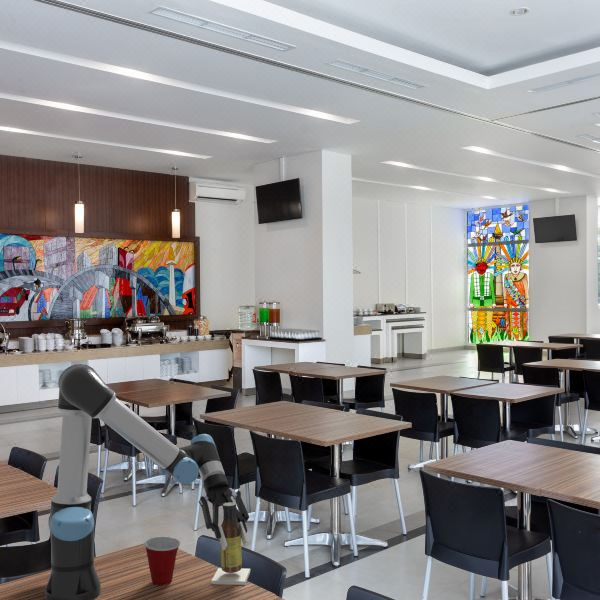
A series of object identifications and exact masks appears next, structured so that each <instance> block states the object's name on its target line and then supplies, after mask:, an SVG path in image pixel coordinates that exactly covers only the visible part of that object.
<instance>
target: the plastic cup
mask: <svg viewBox="0 0 600 600" xmlns="http://www.w3.org/2000/svg"><path fill="white" fill-rule="evenodd" d="M143 545H144V547H145V551H146V556H147V561H148V569H149V573H150V579H151V581H152V584H154V585H155V586H164V585H169V584H171V582H173V581H172V580H173V579H174V577H173V576H174V572H175V571H174V570H175V567H176V559H177V553H178V550H179V547H180V545H181V540H179V539H177V538H176V537H172V536H163V535H162V536H161V535H160V536H154V537H149V538H148V539H145V541H144V542H143Z"/></svg>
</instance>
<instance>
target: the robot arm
mask: <svg viewBox="0 0 600 600" xmlns="http://www.w3.org/2000/svg"><path fill="white" fill-rule="evenodd" d="M57 387H58V401H57V403H58V404H57V405H58V406H57V409H58V410H59V411H60V413H61V414H62V419H61V420H62V421H61V422H62V423H61V435H60V447H59V448H60V449H59V459H58V460H59V462H58V463H59V464H58V476H57V478H58V479H57V492H56V494H55V495H53V496H52V497H51V500H50V501H51V502H50V511H49V513H50V514H49V516H48V529H49V535H50V555H51V556H50V559H51V560H50V563H51V565H50V567H51V569H50V570H51V571H50V573H49V577H48V580H47V583H46V585H45V586H46V587H45V589H44V600H94V599H96V598H97V597H98V596H99V595H100V594H101V581H100V578H99V576H98V573H97V570H96V567H95V566H96V565H95V549H94V548H95V546H94V545H95V543H94V542H95V535H94V534H95V533H94V527H95V519H94V514H93V513H92V511H91V508H92V507H91V506H92V496H90V494H88V491H87V490H88V489H87V488H88V479H89V478H88V477H89V462H90V461H89V460H90V451H91V450H90V448H91V436H92V435H91V433H92V420H93V419H99V420H101V421H102V422H103V423H104V424H105V425H107V426H108V427H109V428H110V429H112V430H114V431H115V432H116V433H117V434H118V435H120V436H121V437H122V438H123V439H124V440H126V441H127V442H129V443H130V444H131V445H132V446H134V447H135V448H136V449H137V450H139V451H140V452H141V453H143V454H144V455H145V456H146V457H148V458H149V459H150V460H151V461H152V462H154V463H155V464H156V465H157V470H158V473H159V475H160V476H172V478H174V480H175V481H176V482H178V483H180V484H182V485H190V484H191V483H193V482H195V481H196V480H197V479H198V476H199V475H200V479H201V482H202V485H203V489H204V491H205V496H204V495H202V496H200V498H199V500H198V504H199V505H200V507H201V510H202V511H201V512H202V514H203V515H202V516H203V519H204V524H205V528H206V529H207V530H211V531H212V532H214V536H215V539H216V540H219V544H220V543H221V546H222V550H225V549H226V547H227V542H226V539H225V536H224V532H223V529H222V526H221V524H220V525H219V511H220V510H219V509H220V508H219V507H221V506H222V507H223V504H224V503H229V502H233V503H235V504H236V518H237V521H238V524H239V527H240V530H241V543H242V546H243V547H246V546H247V545H248V543H249V538H248V535H247V533H248V527H247V525H246V523H247V522H248V521H249V519H250V515H249V513H248V510H247V508H246V505H245V503H244V500H243V498H242V492H241V491H240V490H237V491H232V489H231V488H230V486H229V483H228V478H227V477H226V473H225V470H224V468H223V465H222V462H221V459H220V456H219V453H218V452H219V451H218V449H217V445H216V443H215V441H214V438H213V437H212V436H211V435H210V434H207V433H201V434H198V435H197V436H194V437H193V438H192V439H191V440H190V444H189V445H185V446H182V447H181V446H180V447H178V446H177V445H175V444H174V443H173V442H172V441H170V440H169V439H168V438H167V437H165V436H164V435H162V434H161V433H160V432H159V431H158V430H156V428H154V427H153V426H151V425H150V424H149V423H148V422H147V421H145V420H144V419H143V418H142V417H140V415H138V414H137V413H136V412H134V411H133V410H132V409H131V408H130V407H128V406H127V405H126V404H124V403H123V402H122V401H121V400H119V398H117V396H116V392H115V391H114V390H113V389H112V388H111V387H110V386H108V385H107V384H106V382H105V381H104V380H103V379H102V377H100V375H99V373H97V371H96V370H95V369H94V368H93V367H91V366H90V365H87V364H82V363H77V364H73V365H70V366H68V367H67V368H65V369H64V370H63V371H62V372H61V374H60V376H59V378H58V386H57ZM232 498H233V500H234V501H235V502H234V501H233V500H232ZM208 502H209V503H210V504H211V505H212V516H211V511H210V508H209V503H208ZM221 546H220V547H221Z"/></svg>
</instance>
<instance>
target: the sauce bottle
mask: <svg viewBox="0 0 600 600" xmlns="http://www.w3.org/2000/svg"><path fill="white" fill-rule="evenodd" d="M236 508H237V505H236V502H234V501H233V502H229V503H224V504H223V506H222V511H223V512H222V513H223V520H222V523H221V524H220V525H221V526H222V529H223V532H224V536H225V539H226V542H227V547H226V549H225V550H222V546H221V543H220V542H219V544H220V565H221V568H222V571H224V572H226V573H235V572H238V571H240V570H241V568H242V564H243V563H242V562H243V559H242V558H243V557H242V539H241V530H240V527H239V524H238V521H237V518H236Z"/></svg>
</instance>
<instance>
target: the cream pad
mask: <svg viewBox="0 0 600 600" xmlns="http://www.w3.org/2000/svg"><path fill="white" fill-rule="evenodd" d="M250 573H251V568H242V567H241V570H240V571H238V572H235V573H226V572H224V571H222V567H218V568H217V570H216V572H215V574H214V575H213V577H212V579H211V581H210V582H211V585H229V586H230V585H232V586H233V585H235V586H236V585H237V586H239V585H240V586H246V584H247V581H248V579H249V576H250Z"/></svg>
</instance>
